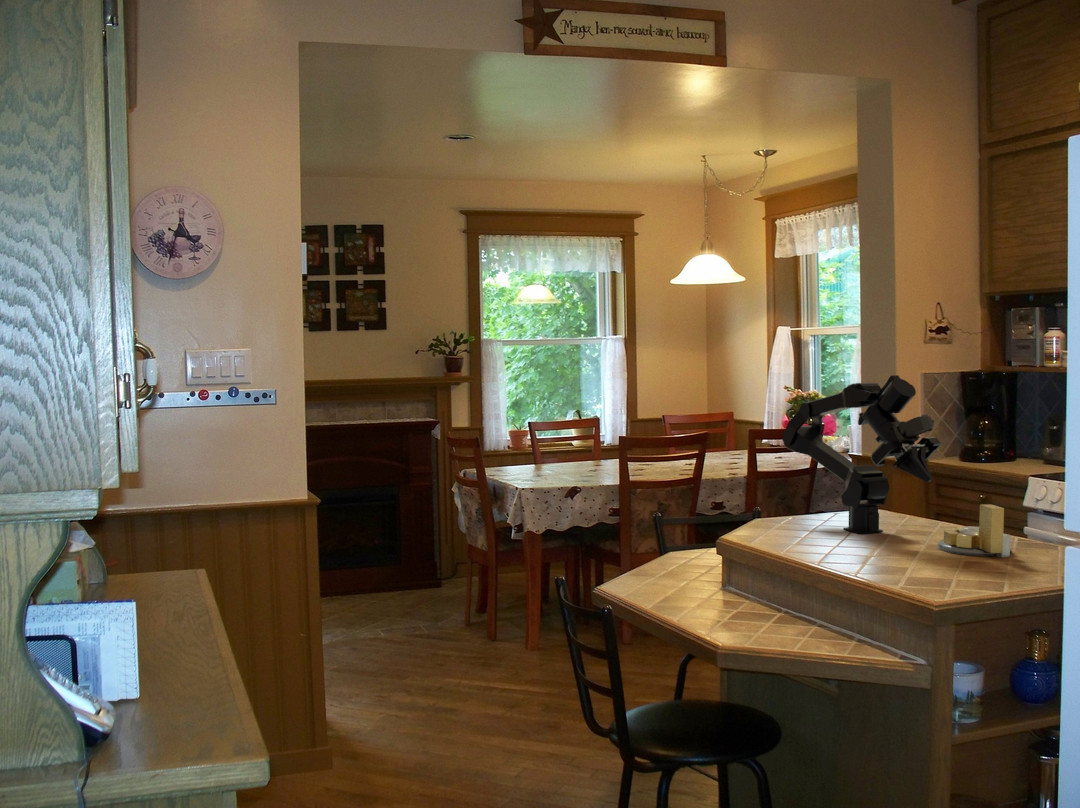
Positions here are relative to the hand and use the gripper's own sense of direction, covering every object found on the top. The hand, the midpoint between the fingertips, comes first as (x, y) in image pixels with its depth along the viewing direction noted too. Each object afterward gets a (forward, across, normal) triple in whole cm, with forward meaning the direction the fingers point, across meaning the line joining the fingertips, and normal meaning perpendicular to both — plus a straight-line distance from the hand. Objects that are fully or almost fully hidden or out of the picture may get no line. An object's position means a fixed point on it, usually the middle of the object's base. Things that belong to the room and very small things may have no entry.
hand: (929, 480), depth 223 cm
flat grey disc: (+17, +1, +3) cm, 17 cm away
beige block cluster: (+17, 0, 0) cm, 17 cm away
